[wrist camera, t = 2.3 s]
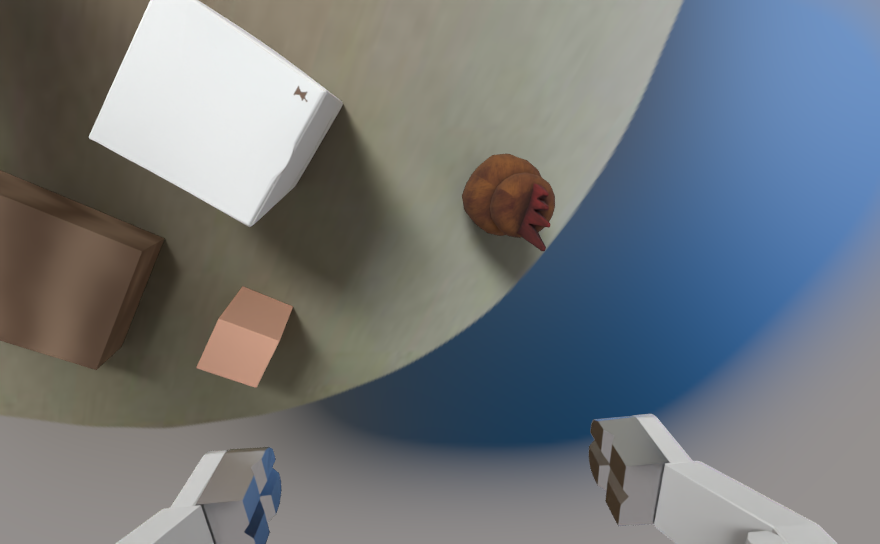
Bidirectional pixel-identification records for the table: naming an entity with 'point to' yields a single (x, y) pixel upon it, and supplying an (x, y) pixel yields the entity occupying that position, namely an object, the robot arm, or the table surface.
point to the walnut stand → (68, 274)
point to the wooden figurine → (509, 198)
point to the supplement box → (214, 110)
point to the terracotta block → (245, 337)
